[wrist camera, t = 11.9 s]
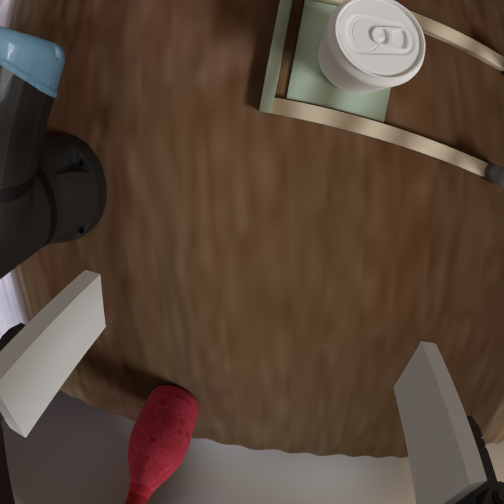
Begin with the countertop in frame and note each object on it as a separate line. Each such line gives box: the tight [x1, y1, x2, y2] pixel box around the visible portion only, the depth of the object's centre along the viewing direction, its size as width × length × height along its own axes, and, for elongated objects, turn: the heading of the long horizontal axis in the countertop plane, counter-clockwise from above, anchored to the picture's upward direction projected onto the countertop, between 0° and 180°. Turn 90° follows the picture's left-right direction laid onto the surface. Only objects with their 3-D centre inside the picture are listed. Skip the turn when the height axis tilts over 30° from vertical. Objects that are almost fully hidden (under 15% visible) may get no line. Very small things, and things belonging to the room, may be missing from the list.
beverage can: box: [318, 0, 425, 94], centre depth 23 cm, size 8×8×12 cm
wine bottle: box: [125, 385, 199, 504], centre depth 41 cm, size 10×10×30 cm
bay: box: [259, 0, 504, 189], centre depth 26 cm, size 30×17×5 cm, turn 81°
